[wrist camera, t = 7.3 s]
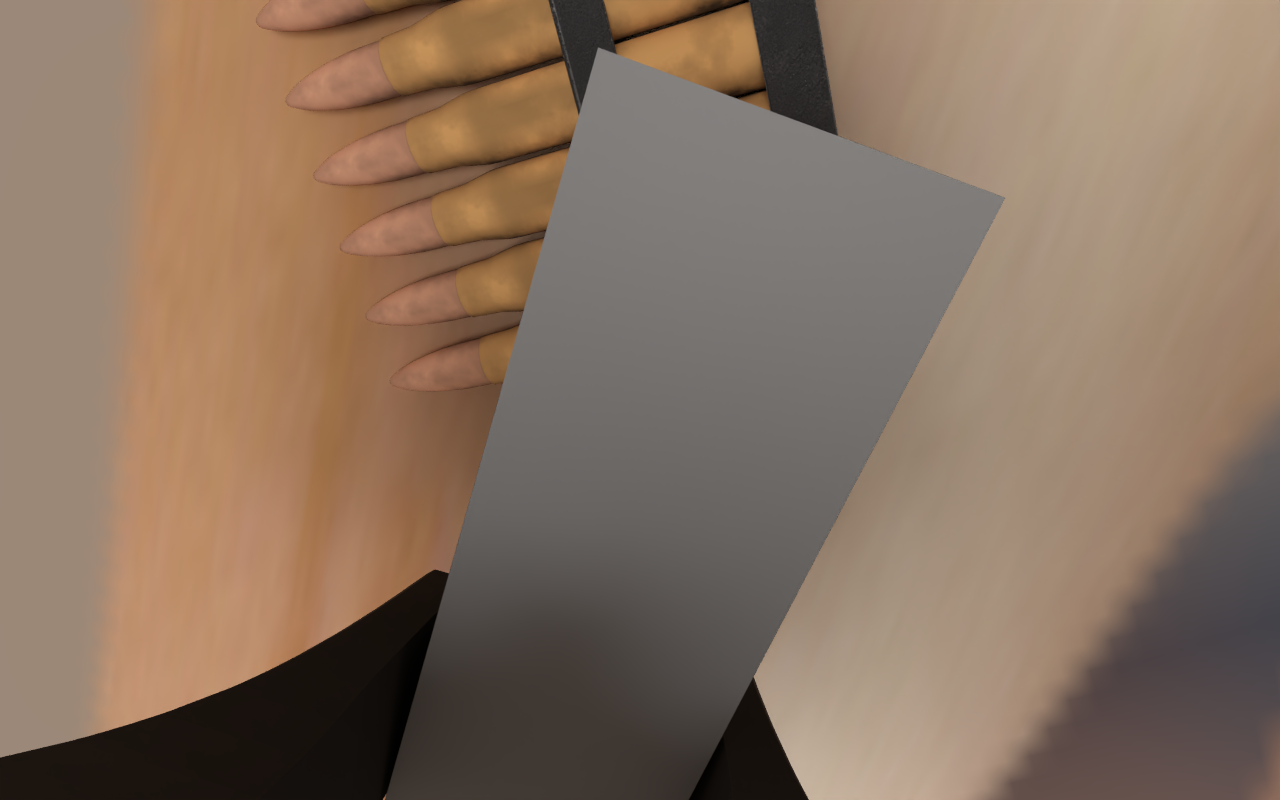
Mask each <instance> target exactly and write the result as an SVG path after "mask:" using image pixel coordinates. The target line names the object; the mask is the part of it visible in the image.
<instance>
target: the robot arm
mask: <svg viewBox="0 0 1280 800" xmlns="http://www.w3.org/2000/svg"><path fill="white" fill-rule="evenodd" d="M448 576H449V573H445V572H442V571H438V570H433V571H431V572H429V573H428V574H426V575H425V576H423V577H422V578H420V579H419V580H417V581H416V582H415V583H413V584H412V585H410V586H409V587H407V588H406V589H405V590H403V591H402V592H400V593H399V594H397V595H396V596H394V597H393V598H391V599H390V600H388V601H387V602H386V603H384V604H383V605H381V606H380V607H378V608H377V609H375V610H373V611H372V612H370V613H369V614H367V615H366V616H364V617H362V618H361V619H359V620H358V621H356V622H355V623H353V624H351V625H350V626H348V627H347V628H345V629H343V630H342V631H340V632H338V633H337V634H335V635H333V636H332V637H330V638H328V639H326V640H324V641H323V642H321V643H319V644H317V645H316V646H314V647H312V648H310V649H308V650H307V651H305V652H303V653H301V654H300V655H298V656H296V657H294V658H292V659H290V660H288V661H286V662H284V663H282V664H281V665H279V666H277V667H275V668H273V669H271V670H268V671H266V672H264V673H262V674H260V675H258V676H256V677H254V678H251V679H249V680H247V681H245V682H243V683H241V684H238V685H236V686H234V687H231V688H229V689H226V690H224V691H221V692H219V693H216V694H213V695H211V696H208V697H205V698H203V699H200V700H198V701H195V702H192V703H190V704H187V705H185V706H182V707H179V708H177V709H174V710H171V711H169V712H166V713H163V714H160V715H157V716H154V717H151V718H148V719H144V720H141V721H138V722H135V723H132V724H129V725H126V726H122V727H119V728H115V729H112V730H109V731H105V732H102V733H98V734H95V735H91V736H88V737H84V738H80V739H77V740H73V741H69V742H65V743H61V744H57V745H52V746H48V747H43V748H40V749H35V750H31V751H26V752H22V753H18V754H14V755H9V756H5V757H2V758H0V800H383V798H384V797H385V795H386V793H387V791H388V787H389V784H390V780H391V777H392V773H393V770H394V766H395V763H396V759H397V756H398V752H399V749H400V745H401V742H402V738H403V735H404V731H405V727H406V724H407V720H408V717H409V713H410V710H411V706H412V703H413V699H414V696H415V692H416V689H417V685H418V682H419V678H420V675H421V671H422V667H423V664H424V660H425V657H426V653H427V650H428V646H429V643H430V639H431V636H432V632H433V629H434V625H435V622H436V618H437V615H438V611H439V607H440V604H441V600H442V597H443V593H444V590H445V586H446V583H447V579H448ZM689 800H809V799H808V797H807V796H806V794H805V792H804V790H803V788H802V786H801V784H800V782H799V780H798V778H797V776H796V774H795V772H794V770H793V768H792V766H791V764H790V762H789V760H788V758H787V756H786V753H785V751H784V749H783V747H782V745H781V743H780V740H779V738H778V736H777V734H776V732H775V729H774V727H773V725H772V722H771V720H770V718H769V715H768V713H767V710H766V708H765V705H764V703H763V701H762V698H761V695H760V693H759V690H758V688H757V685H756V682H755V679H754V677H753V678H752V680H751V682H750V684H749V686H748V688H747V690H746V692H745V694H744V696H743V697H742V699H741V701H740V703H739V705H738V707H737V709H736V711H735V713H734V715H733V716H732V718H731V720H730V722H729V724H728V726H727V728H726V730H725V732H724V734H723V735H722V737H721V739H720V741H719V743H718V745H717V747H716V749H715V751H714V753H713V754H712V756H711V758H710V760H709V762H708V764H707V766H706V768H705V770H704V772H703V773H702V775H701V777H700V779H699V781H698V783H697V785H696V787H695V789H694V791H693V792H692V794H691V796H690V798H689Z"/></svg>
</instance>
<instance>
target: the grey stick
mask: <svg viewBox="0 0 1280 800" xmlns="http://www.w3.org/2000/svg"><path fill="white" fill-rule="evenodd" d="M1004 199H1005V198H1004V197H1002V196H999V195H996V194H994V193H991V192H988V191H986V190H983V189H980V188H977V187H975V186H972V185H969V184H967V183H964V182H961V181H958V180H956V179H953V178H950V177H948V176H945V175H942V174H939V173H937V172H934V171H931V170H929V169H926V168H923V167H921V166H918V165H915V164H912V163H910V162H907V161H904V160H902V159H899V158H896V157H893V156H891V155H888V154H885V153H883V152H880V151H877V150H874V149H872V148H869V147H866V146H864V145H861V144H858V143H855V142H853V141H850V140H847V139H845V138H842V137H839V136H837V135H834V134H831V133H828V132H826V131H823V130H820V129H818V128H815V127H812V126H809V125H807V124H804V123H801V122H799V121H796V120H793V119H790V118H788V117H785V116H782V115H780V114H777V113H774V112H772V111H769V110H766V109H763V108H761V107H758V106H755V105H753V104H750V103H747V102H744V101H742V100H739V99H736V98H734V97H731V96H728V95H725V94H723V93H720V92H717V91H715V90H712V89H709V88H707V87H704V86H701V85H698V84H696V83H693V82H690V81H688V80H685V79H682V78H679V77H677V76H674V75H671V74H669V73H666V72H663V71H660V70H658V69H655V68H652V67H650V66H647V65H644V64H642V63H639V62H636V61H633V60H631V59H628V58H625V57H623V56H620V55H617V54H614V53H612V52H609V51H606V50H604V49H601V48H598V50H597V53H596V57H595V60H594V64H593V68H592V71H591V75H590V78H589V82H588V85H587V89H586V92H585V96H584V99H583V103H582V106H581V110H580V113H579V117H578V120H577V124H576V128H575V131H574V135H573V138H572V142H571V145H570V149H569V152H568V156H567V159H566V163H565V166H564V170H563V173H562V177H561V180H560V184H559V188H558V191H557V195H556V198H555V202H554V205H553V209H552V212H551V216H550V219H549V223H548V226H547V230H546V233H545V237H544V240H543V244H542V248H541V251H540V255H539V258H538V262H537V265H536V269H535V272H534V276H533V279H532V283H531V286H530V290H529V293H528V297H527V300H526V304H525V308H524V311H523V315H522V318H521V322H520V325H519V329H518V332H517V336H516V339H515V343H514V346H513V350H512V353H511V357H510V360H509V364H508V368H507V371H506V375H505V378H504V382H503V385H502V389H501V392H500V396H499V399H498V403H497V406H496V410H495V413H494V417H493V420H492V424H491V428H490V431H489V435H488V438H487V442H486V445H485V449H484V452H483V456H482V459H481V463H480V466H479V470H478V473H477V477H476V480H475V484H474V488H473V491H472V495H471V498H470V502H469V505H468V509H467V512H466V516H465V519H464V523H463V526H462V530H461V533H460V537H459V540H458V544H457V547H456V551H455V555H454V558H453V562H452V565H451V569H450V572H449V576H448V579H447V583H446V586H445V590H444V593H443V597H442V600H441V604H440V607H439V611H438V615H437V618H436V622H435V625H434V629H433V632H432V636H431V639H430V643H429V646H428V650H427V653H426V657H425V660H424V664H423V667H422V671H421V675H420V678H419V682H418V685H417V689H416V692H415V696H414V699H413V703H412V706H411V710H410V713H409V717H408V720H407V724H406V727H405V731H404V735H403V738H402V742H401V745H400V749H399V752H398V756H397V759H396V763H395V766H394V770H393V773H392V777H391V780H390V784H389V787H388V791H387V795H386V798H385V800H689V798H690V796H691V794H692V792H693V791H694V789H695V787H696V785H697V783H698V781H699V779H700V777H701V775H702V773H703V772H704V770H705V768H706V766H707V764H708V762H709V760H710V758H711V756H712V754H713V753H714V751H715V749H716V747H717V745H718V743H719V741H720V739H721V737H722V735H723V734H724V732H725V730H726V728H727V726H728V724H729V722H730V720H731V718H732V716H733V715H734V713H735V711H736V709H737V707H738V705H739V703H740V701H741V699H742V697H743V696H744V694H745V692H746V690H747V688H748V686H749V684H750V682H751V680H752V678H753V676H754V675H755V673H756V671H757V669H758V667H759V665H760V663H761V661H762V659H763V657H764V656H765V654H766V652H767V650H768V648H769V646H770V644H771V642H772V640H773V638H774V637H775V635H776V633H777V631H778V629H779V627H780V625H781V623H782V621H783V619H784V618H785V616H786V614H787V612H788V610H789V608H790V606H791V604H792V602H793V600H794V599H795V597H796V595H797V593H798V591H799V589H800V587H801V585H802V583H803V581H804V580H805V578H806V576H807V574H808V572H809V570H810V568H811V566H812V564H813V562H814V561H815V559H816V557H817V555H818V553H819V551H820V549H821V547H822V545H823V543H824V542H825V540H826V538H827V536H828V534H829V532H830V530H831V528H832V526H833V524H834V523H835V521H836V519H837V517H838V515H839V513H840V511H841V509H842V507H843V505H844V504H845V502H846V500H847V498H848V496H849V494H850V492H851V490H852V488H853V486H854V484H855V483H856V481H857V479H858V477H859V475H860V473H861V471H862V469H863V467H864V465H865V464H866V462H867V460H868V458H869V456H870V454H871V452H872V450H873V448H874V446H875V445H876V443H877V441H878V439H879V437H880V435H881V433H882V431H883V429H884V427H885V426H886V424H887V422H888V420H889V418H890V416H891V414H892V412H893V410H894V408H895V407H896V405H897V403H898V401H899V399H900V397H901V395H902V393H903V391H904V389H905V388H906V386H907V384H908V382H909V380H910V378H911V376H912V374H913V372H914V370H915V369H916V367H917V365H918V363H919V361H920V359H921V357H922V355H923V353H924V351H925V350H926V348H927V346H928V344H929V342H930V340H931V338H932V336H933V334H934V332H935V331H936V329H937V327H938V325H939V323H940V321H941V319H942V317H943V315H944V313H945V311H946V310H947V308H948V306H949V304H950V302H951V300H952V298H953V296H954V294H955V292H956V291H957V289H958V287H959V285H960V283H961V281H962V279H963V277H964V275H965V273H966V272H967V270H968V268H969V266H970V264H971V262H972V260H973V258H974V256H975V254H976V253H977V251H978V249H979V247H980V245H981V243H982V241H983V239H984V237H985V235H986V234H987V232H988V230H989V228H990V226H991V224H992V222H993V220H994V218H995V216H996V215H997V213H998V211H999V209H1000V207H1001V205H1002V203H1003V201H1004Z"/></svg>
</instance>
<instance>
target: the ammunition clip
mask: <svg viewBox="0 0 1280 800" xmlns="http://www.w3.org/2000/svg"><path fill="white" fill-rule="evenodd" d="M445 1H449V0H270V1H269V2H268V3H267V4H266V5H265V6H264V7H263V9H262V10H261V11H260V13H259V14H258V16H257V18H256V23H257V25H258V26H259V27H261V28H264V29H269V30H275V31H304V30H314V29H321V28H327V27H332V26H337V25H342V24H346V23H350V22H354V21H357V20H360V19H363V18H366V17H369V16H372V15H375V14H384V13H387V12H391V11H394V10H397V9H401V8H404V7H408V6H411V5H420V4H430V3H439V2H445ZM741 1H745V0H461V1H459V2H456V3H453V4H450V5H447V6H445V7H442V8H440V9H438V10H436V11H434V12H433V13H431V14H429V15H428V16H426V17H425V18H423V19H422V20H420V21H418V22H417V23H415V24H414V25H412V26H411V27H408V28H406V29H403V30H401V31H398V32H396V33H393V34H391V35H388V36H386V37H383V38H381V40H380V41H377V42H374V43H372V44H369V45H366V46H363V47H360V48H358V49H355V50H352V51H350V52H348V53H346V54H344V55H342V56H340V57H338V58H336V59H334V60H332V61H330V62H328V63H326V64H324V65H323V66H321V67H319V68H318V69H316V70H315V71H313V72H312V73H311V74H309V75H308V76H307V77H305V78H304V79H303V80H301V81H300V82H299V83H298V84H297V85H296V86H295V87H294V88H293V89H292V90H291V91H290V93H289V94H288V95H287V97H286V103H287V105H289V106H290V107H293V108H297V109H303V110H313V111H314V110H339V109H348V108H353V107H359V106H364V105H369V104H374V103H378V102H381V101H385V100H388V99H391V98H395V97H398V96H401V95H404V96H407V95H411V94H414V93H418V92H422V91H426V90H430V89H434V88H445V87H457V86H466V85H470V84H474V83H477V82H481V81H484V80H487V79H490V78H494V77H497V76H500V75H503V74H507V73H510V72H513V71H516V70H520V69H523V68H526V67H529V66H533V65H536V64H539V63H542V62H546V61H549V60H552V59H556V58H559V57H562V56H563V58H564V61H562V62H558V63H555V64H552V65H549V66H546V67H543V68H540V69H536V70H533V71H530V72H527V73H524V74H521V75H518V76H515V77H511V78H508V79H505V80H502V81H499V82H496V83H493V84H489V85H486V86H483V87H480V88H477V89H474V90H472V91H469V92H466V93H464V94H462V95H460V96H458V97H456V98H455V99H453V100H451V101H450V102H448V103H446V104H444V105H443V106H441V107H439V108H438V109H435V110H432V111H429V112H427V113H424V114H421V115H418V116H416V117H413V118H411V119H408V121H406V122H403V123H400V124H396V125H393V126H390V127H387V128H385V129H382V130H379V131H377V132H375V133H372V134H370V135H368V136H366V137H363V138H361V139H359V140H357V141H355V142H353V143H351V144H349V145H347V146H346V147H344V148H342V149H341V150H339V151H338V152H336V153H335V154H333V155H332V156H330V157H329V158H328V159H326V160H325V161H324V162H323V163H322V164H321V165H320V166H319V167H318V168H317V170H316V171H315V172H314V179H315V180H317V181H318V182H322V183H327V184H332V185H368V184H377V183H383V182H390V181H395V180H400V179H404V178H408V177H412V176H416V175H419V174H423V173H427V172H428V173H432V172H437V171H441V170H445V169H450V168H454V167H458V166H473V165H486V164H493V163H497V162H501V161H505V160H508V159H512V158H515V157H519V156H523V155H526V154H530V153H533V152H537V151H540V150H544V149H548V148H551V147H555V146H558V145H562V144H566V143H569V142H572V138H573V135H574V131H575V128H576V124H577V120H578V117H579V113H580V110H581V106H582V103H583V99H584V96H585V92H586V89H587V85H588V82H589V78H590V75H591V71H592V68H593V64H594V60H595V57H596V53H597V50H598V48H601V49H604V50H606V51H609V52H612V53H614V54H617V55H620V56H623V57H625V58H628V59H631V60H633V61H636V62H639V63H642V64H644V65H647V66H650V67H652V68H655V69H658V70H660V71H663V72H666V73H669V74H671V75H674V76H677V77H679V78H682V79H685V80H688V81H690V82H693V83H696V84H698V85H701V86H704V87H707V88H709V89H712V90H715V91H717V92H720V93H723V94H725V95H728V96H731V97H735V96H738V95H742V94H745V93H749V92H753V91H756V90H760V89H763V88H765V91H761V92H758V93H755V94H751V95H748V96H744V97H741V98H737V99H739V100H742V101H744V102H747V103H750V104H753V105H755V106H758V107H761V108H763V109H766V110H769V111H772V112H774V113H777V114H780V115H782V116H785V117H788V118H790V119H793V120H796V121H799V122H801V123H804V124H807V125H809V126H812V127H815V128H818V129H820V130H823V131H826V132H828V133H831V134H834V135H837V136H838V133H837V127H836V121H835V115H834V109H833V103H832V97H831V91H830V85H829V80H828V74H827V68H826V62H825V56H824V50H823V44H822V38H821V32H820V26H819V20H818V14H817V8H816V3H815V0H748V2H747V3H743V4H740V5H737V6H734V7H731V8H728V9H725V10H721V11H718V12H715V13H712V14H709V15H706V16H703V17H700V18H696V19H693V20H690V21H687V22H684V23H681V24H678V25H674V26H671V27H668V28H665V29H662V30H659V31H656V32H653V33H649V34H646V35H643V36H640V37H637V38H634V39H631V40H627V41H626V39H625V37H627V36H630V35H634V34H637V33H640V32H644V31H647V30H650V29H653V28H657V27H660V26H663V25H666V24H670V23H673V22H676V21H679V20H683V19H686V18H689V17H692V16H696V15H699V14H702V13H705V12H709V11H712V10H715V9H719V8H722V7H725V6H728V5H732V4H735V3H738V2H741ZM569 149H570V147H568V148H565V149H561V150H558V151H554V152H551V153H548V154H544V155H541V156H537V157H534V158H530V159H527V160H523V161H520V162H516V163H513V164H510V165H506V166H503V167H499V168H496V169H494V170H491V171H489V172H487V173H485V174H483V175H481V176H479V177H477V178H476V179H474V180H472V181H470V182H468V183H466V184H464V185H461V186H458V187H455V188H452V189H449V190H446V191H443V192H440V193H437V194H436V195H434V196H432V197H429V198H426V199H422V200H419V201H415V202H412V203H409V204H406V205H404V206H401V207H399V208H396V209H394V210H392V211H389V212H387V213H384V214H382V215H380V216H378V217H376V218H375V219H373V220H371V221H369V222H368V223H366V224H364V225H363V226H361V227H360V228H358V229H356V230H355V231H353V232H352V233H351V234H350V235H348V236H347V237H346V238H345V239H344V240H343V242H342V243H341V245H340V249H341V250H342V251H343V252H345V253H349V254H353V255H360V256H396V255H405V254H412V253H419V252H425V251H429V250H433V249H437V248H441V247H446V246H456V245H460V244H465V243H470V242H475V241H479V240H493V239H511V238H517V237H521V236H525V235H529V234H533V233H537V232H541V231H545V230H547V226H548V223H549V219H550V216H551V212H552V209H553V205H554V202H555V198H556V195H557V191H558V188H559V184H560V180H561V177H562V173H563V170H564V166H565V163H566V159H567V156H568V152H569ZM543 240H544V238H541V239H537V240H533V241H529V242H526V243H522V244H519V245H516V246H513V247H511V248H509V249H506V250H504V251H502V252H500V253H498V254H496V255H494V256H492V257H490V258H488V259H486V260H482V261H479V262H476V263H472V264H469V265H466V266H463V267H460V268H459V269H457V270H453V271H449V272H446V273H442V274H438V275H435V276H431V277H429V278H426V279H423V280H421V281H418V282H415V283H413V284H410V285H408V286H406V287H404V288H402V289H400V290H398V291H396V292H394V293H392V294H390V295H389V296H387V297H385V298H383V299H382V300H380V301H379V302H378V303H376V304H375V305H374V306H373V307H372V308H371V309H369V310H368V311H367V313H366V318H367V320H369V321H372V322H375V323H379V324H386V325H423V324H431V323H439V322H447V321H452V320H457V319H461V318H466V317H470V316H472V317H476V316H481V315H487V314H492V313H498V312H509V311H524V308H525V304H526V300H527V297H528V293H529V290H530V286H531V283H532V279H533V276H534V272H535V269H536V265H537V262H538V258H539V255H540V251H541V248H542V244H543ZM518 329H519V325H518V326H515V327H513V328H511V329H508V330H505V331H501V332H497V333H494V334H490V335H487V336H483V337H482V338H480V339H476V340H472V341H468V342H464V343H460V344H456V345H453V346H450V347H447V348H444V349H441V350H438V351H435V352H433V353H430V354H428V355H426V356H424V357H421V358H419V359H417V360H415V361H414V362H412V363H410V364H408V365H406V366H405V367H403V368H402V369H400V370H399V371H398V372H397V373H395V374H394V375H393V376H392V377H391V379H390V383H391V384H392V385H393V386H396V387H399V388H403V389H408V390H417V391H447V390H458V389H467V388H472V387H478V386H483V385H488V384H500V383H503V382H504V378H505V375H506V371H507V368H508V364H509V360H510V357H511V353H512V350H513V346H514V343H515V339H516V336H517V332H518Z"/></svg>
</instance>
